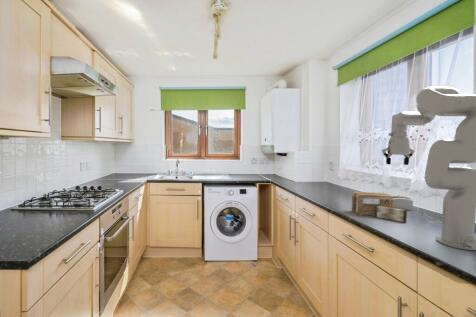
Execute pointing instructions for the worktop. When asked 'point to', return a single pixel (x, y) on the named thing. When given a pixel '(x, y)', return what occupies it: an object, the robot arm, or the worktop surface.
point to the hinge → (401, 203)
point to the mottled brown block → (391, 213)
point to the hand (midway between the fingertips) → (397, 164)
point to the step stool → (369, 208)
